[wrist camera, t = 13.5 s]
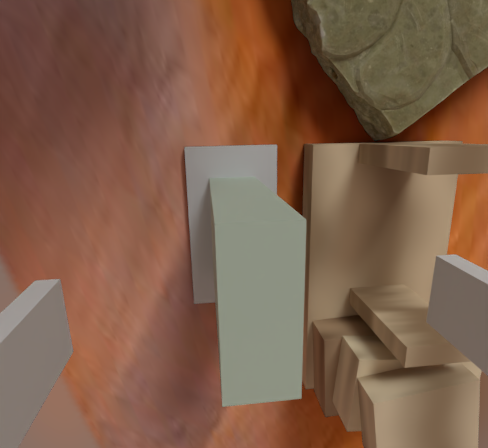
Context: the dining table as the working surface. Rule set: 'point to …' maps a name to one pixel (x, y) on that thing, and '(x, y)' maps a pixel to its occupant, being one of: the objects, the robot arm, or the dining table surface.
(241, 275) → the pale green block
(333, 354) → the offcut bottom
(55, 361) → the robot arm
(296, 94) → the dining table surface
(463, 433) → the offcut top
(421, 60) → the decorative tile
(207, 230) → the felt mat
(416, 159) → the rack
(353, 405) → the block
